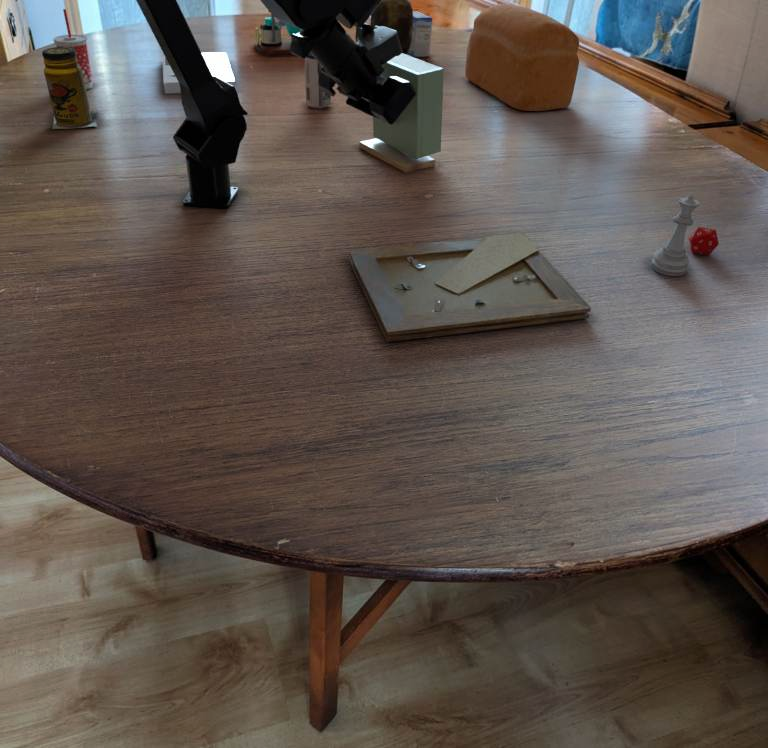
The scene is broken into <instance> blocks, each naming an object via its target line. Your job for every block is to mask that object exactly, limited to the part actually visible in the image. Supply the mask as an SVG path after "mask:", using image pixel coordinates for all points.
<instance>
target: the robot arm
mask: <svg viewBox="0 0 768 748" xmlns="http://www.w3.org/2000/svg"><path fill="white" fill-rule="evenodd" d="M135 1H136V4H137V5H138V7H139V9H140V10H141V13H142V14H143V16H144V19H145V20H146V22H147V25H148V26H149V28H150V30H151V32H152V34H153V36H154V38H155V40H156V42H157V44H158V45H159V47H160V50H161V51H162V54H164V55H165V57H166V59H167V61H168V63H169V65H170V67H171V69H172V71H173V73H174V75H175V76H176V78H177V80H178V82H179V85H180V91H181V93H180V99H181V106H182V109H183V111H184V115H185V117H186V118H185V119H184V120H183V122H182V123H181V125H180V126H179V127H178V128H177V130H176V131H175V132H174V134H173V136H172V139H173V141H174V143H175V146H176V147H177V149H178V150H179V151H180V152H183V153H184V154H186V155H185V163H186V164H185V165H186V170H187V171H186V172H187V180H188V186H189V192H188V193H187V194H186V196H185V197H184V199H182V205H183V206H191V207H202V208H203V207H205V208H217V209H218V208H219V209H228V208H229V207H230V205H231V204H232V202H233V201H234V199H235V197H236V196H237V194H238V193H239V187H236V186H231V178H230V166H229V165H231V164H232V165H233V164H235V163H236V162H237V157H238V154H239V149H240V146H241V143H242V141H243V139H244V137H245V134H246V132H247V131H248V124H247V121H246V118H245V116H247V115H248V114H249V113H248V112H247V111H246V110H245V109H244V107H243V106H242V104H241V102H240V101H241V100H240V98H239V94H238V92H237V88H236V89H235V87H234V86H232V85H230V84H228V83H227V82H225V81H223V80H221V79H219V78H218V77H216V76H214V77H213V76H212V74H211V72H210V70H209V68H208V66H207V64H206V61H205V59H204V57H203V55H202V53H203V52H202V51H201V49H200V47H199V45H198V43H197V40H196V38H195V36H194V34H193V32H192V30H191V28H190V26H189V24H188V21H187V19H186V17H185V15H184V13H183V11H182V9H181V7H180V4H179V3H178V1H177V0H135ZM259 1H260V2H261V3H262V5H263V6H264V7H265V8H266V9H267V11H268V10H269V12H268V13H269V14H270V15H271V14H272V15H273V16H274V18H275V20H278V21H282V22H284V23H287V24H289V25H292V26H294V27H297V28H299V29H302V30H301V31H300V32H299V33H298V34H292V35H291V36H290V38H291V40H292V41H291V45H290V52H291V53H292V54H294V55H296V56H297V57H299V58H301V59H304V60H305V58H306V57H307V56H308V54H309V53H311V54H312V55H313V56H314V58H315V59H316V60H317V61H318V62H319V64H320V65H321V66H322V67H323V68H322V69H321V71H322V73H321V74H320V75H319V77H318V85H319V87H320V88H321V89H322V90H323V91H324V92H325V93H327V94H329V95H331V97H334V98H335V96H336V94H337V92H338V93H339V94H341V95H343V96H345V97H347V98H346V100H345V104H346V105H348V106H350V107H351V108H354V109H356V110H358V111H360V112H362V113H364V114H366V115H368V116H370V117H372V118H373V117H375V118H377V119H379V120H382V121H384V122H386V123H388V124H391V125H392V124H393V123H394V122H395V121H396V120H397V118H398V117H399V116H400V114H401V113H402V112H403V111H404V109H405V108H406V107H407V105H408V104H409V103H410V102H411V100H412V99H413V98H414V96H415V95H416V90H415V88H414V87H413V85H412V84H411V83H410V82H409V81H407V80H404V79H402V78H399V77H397V76H392V77H388V79H386V78H385V77H383V76H381V74H382V73H383V71H384V68H383V67H382V66H381V65H383V64H385V63H387V62H388V61H389V60H391V59H392V58H394V57H395V56H399V55H400V54H401V53H402V48H401V45H400V41H399V37H398V33H397V31H396V30H393V29H390V28H387V27H384V26H380V27H378V26H374V29H373V27H372V26H371V25H370V23H367V21H368V20H369V19H370V18H371V14H372V13H373V12H374V10H375V9H376V8H377V7H378V5H379V4H380V3H381V1H382V0H259ZM343 26H344V27H345V28H347V29H350V30H351V29H352V28H353V27H355V38H354V39H355V41H354V39H352V37H351V36H350V35H349V33H348V32H347V31H346V29H345V28H344V27H343ZM336 85H337V87H336V90H337V91H336V90H335V89H334V87H335V86H336Z"/></svg>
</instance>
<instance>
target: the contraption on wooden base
mask: <svg viewBox="0 0 768 748" xmlns="http://www.w3.org/2000/svg"><path fill="white" fill-rule="evenodd" d="M267 11H268V13H270V12H269V10H268V9H267ZM270 15H271V16H269V17H268V16H267V17H265V18H264V23H262V24H260V26H259V27H254V38H255V43H254V44H253V46H254V49H255V50H256V51H257V53H258V54H259V55H261V56H265V57H268V58H269V57H272V58H275V57H292V56H293V57H294V56H296V55H294V54H292V53H291V52H290V45H291V41H292V40H291V35H292V34H298V33H299V32H300V31H301V30H302V29H299V28H297V27H294V26H292V25H289V24H287V23H284V22H282V21H279V20H278V21H276V18H275V17H274V16H273V15H272V14H271V13H270ZM282 27H285V29H286V32H287V33H288V35H289V36H290V37H285V38H282ZM259 29H260V32H259Z"/></svg>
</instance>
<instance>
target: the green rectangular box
mask: <svg viewBox="0 0 768 748" xmlns="http://www.w3.org/2000/svg"><path fill="white" fill-rule="evenodd" d="M381 66H382V67H383V68H384V71H383V73H382V74H381V76H383V77H385V78H386V79H388V77H392V76H397V77H399V78H402V79H404V80H407V81H409V82H410V83H411V84H412V85H413V87H414V88H415V90H416V95H415V96H414V98H413V99H412V100H411V102H410V103H409V104H408V105H407V107H406V108H405V109H404V111H403V112H402V113H401V114H400V116H399V117H398V118H397V120H396V121H395V122H394V123H393V124H392V125H391V124H388V123H386V122H384V121H382V120H379V119H377V118H375V117H373V116H372V136H373V138H374V139H375V138H377V139H379V140H381V141H383V142H385V143H387V144H389V145H390V146H392V147H394V148H396V149H398V150H400V151H402V152H404V153H406V154H408V155H410V156H412V157H414V158H416V159H418V158H422V157H425V156H431V155H434V154H438V153H440V152H442V130H443V129H442V128H443V127H442V126H443V98H444V75H445V74H444V73H445V69H444V68H443V67H440V66H437V65H435V64H433V63H430V62H426V61H425V60H422V59H419V58H418V57H413V56H411V55H409V54H407V55H406V54H403V53H401V54H400V55H399V56H395V57H394V58H392V59H391V60H389V61H388V62H387V63H385V64H383V65H381Z"/></svg>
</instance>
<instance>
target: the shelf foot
mask: <svg viewBox="0 0 768 748" xmlns="http://www.w3.org/2000/svg"><path fill="white" fill-rule="evenodd" d="M358 144H359V146H358V148H359V149H361V150H363V151H365V152H366V153H369V154H370V155H372V156H373V157H376V158H377V159H380V160H381V161H383V162H385V163H387V164H388V165H391V166H392V167H394V168H396V169H398V170H399V171H402V172H403V173H405V174H406V173H411V172H415V171H418V170H422V169H427V168H431V167H435V166H436V159H434V158H432V157H430V155H428V156H425V157H422V158H418V159H416V158H414V157H412V156H410V155H408V154H406V153H404V152H402V151H400V150H398V149H396V148H394V147H392V146H390V145H389V144H387V143H385V142H383V141H381V140H379V139H377V138H375V137H374V138H371V139H367V140H362V141H359V143H358Z"/></svg>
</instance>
